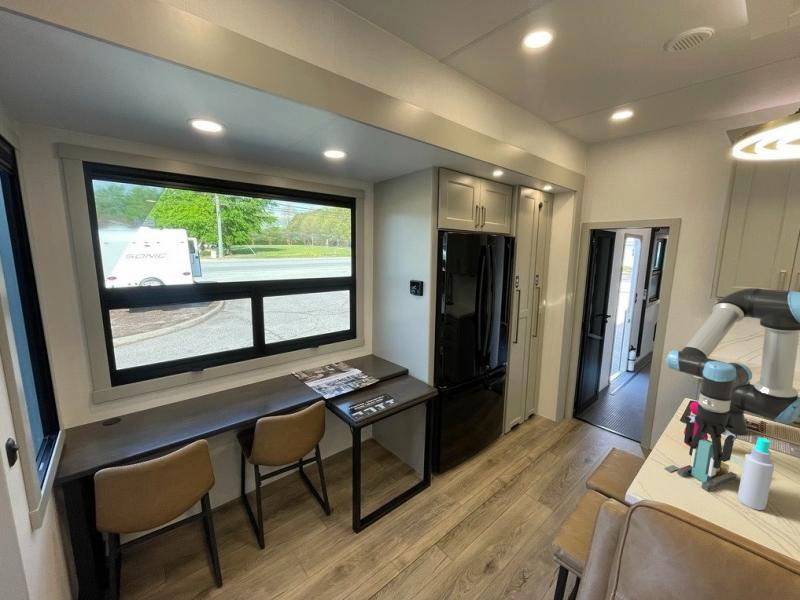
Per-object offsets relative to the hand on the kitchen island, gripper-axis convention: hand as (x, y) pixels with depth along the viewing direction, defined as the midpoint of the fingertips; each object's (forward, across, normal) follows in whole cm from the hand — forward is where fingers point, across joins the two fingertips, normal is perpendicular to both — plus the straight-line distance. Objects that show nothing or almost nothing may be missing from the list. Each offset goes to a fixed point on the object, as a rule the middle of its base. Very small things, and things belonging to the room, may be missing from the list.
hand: (702, 469), depth 113 cm
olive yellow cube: (+4, 0, +4) cm, 5 cm away
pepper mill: (+4, -14, +21) cm, 25 cm away
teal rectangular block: (+3, 0, 0) cm, 3 cm away
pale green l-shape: (+3, 0, +16) cm, 17 cm away
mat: (+3, -7, -4) cm, 9 cm away
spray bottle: (+4, +12, +2) cm, 13 cm away
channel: (+3, 0, +3) cm, 4 cm away
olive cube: (+4, 0, +9) cm, 10 cm away
